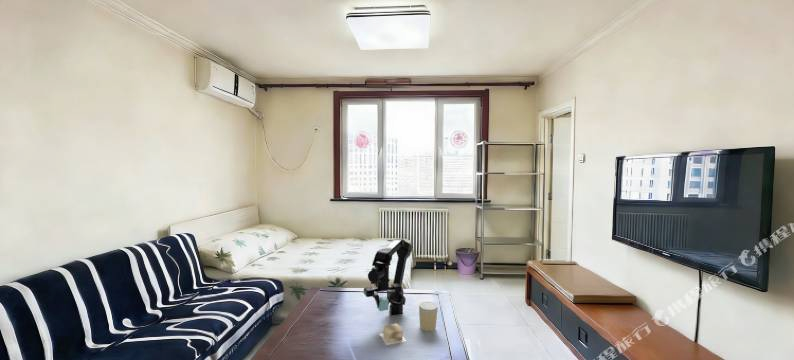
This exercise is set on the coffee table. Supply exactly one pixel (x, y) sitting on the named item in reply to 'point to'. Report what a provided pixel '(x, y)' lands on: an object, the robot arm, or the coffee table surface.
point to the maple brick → (392, 333)
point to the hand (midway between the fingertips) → (382, 306)
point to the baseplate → (391, 342)
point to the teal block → (383, 303)
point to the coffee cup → (428, 316)
